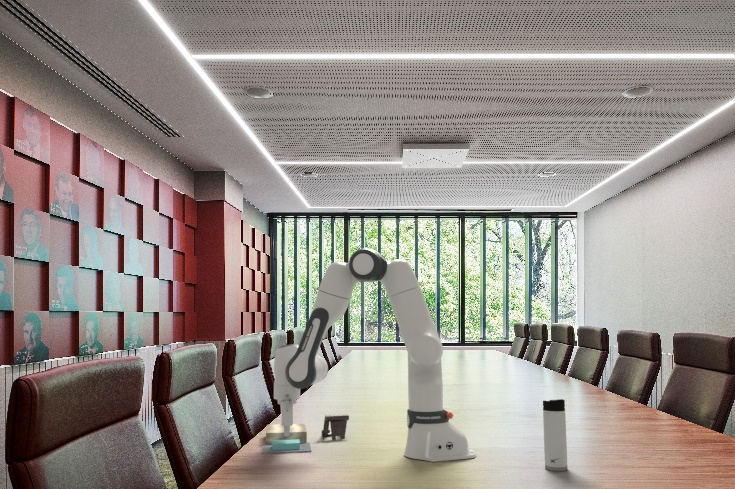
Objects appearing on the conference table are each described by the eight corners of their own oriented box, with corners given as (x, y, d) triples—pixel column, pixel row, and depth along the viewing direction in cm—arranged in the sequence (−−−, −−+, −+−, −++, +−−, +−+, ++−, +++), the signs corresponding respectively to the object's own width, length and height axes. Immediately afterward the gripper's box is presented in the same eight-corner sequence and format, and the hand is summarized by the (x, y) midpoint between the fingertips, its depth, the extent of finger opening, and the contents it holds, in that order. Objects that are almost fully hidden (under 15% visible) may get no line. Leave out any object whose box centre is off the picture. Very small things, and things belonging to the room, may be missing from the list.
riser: (304, 434, 230) (304, 423, 231) (306, 443, 214) (306, 431, 215) (266, 435, 228) (267, 424, 229) (265, 445, 212) (266, 433, 213)
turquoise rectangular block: (299, 443, 204) (299, 449, 204) (299, 439, 210) (299, 445, 210) (272, 444, 203) (272, 450, 202) (272, 440, 209) (272, 446, 208)
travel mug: (555, 472, 174) (553, 400, 176) (540, 467, 180) (537, 397, 182) (573, 470, 176) (570, 399, 178) (557, 465, 182) (554, 396, 184)
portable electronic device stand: (344, 434, 230) (344, 411, 231) (350, 438, 222) (350, 415, 223) (321, 436, 227) (321, 413, 228) (326, 440, 220) (326, 416, 221)
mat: (309, 443, 214) (309, 442, 214) (311, 452, 201) (311, 450, 201) (262, 445, 212) (262, 444, 212) (261, 453, 199) (261, 452, 199)
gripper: (297, 397, 197) (297, 441, 195) (295, 389, 217) (295, 429, 215) (277, 397, 196) (277, 442, 194) (277, 389, 216) (277, 430, 215)
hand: (286, 435), depth 205 cm, fingers closed
